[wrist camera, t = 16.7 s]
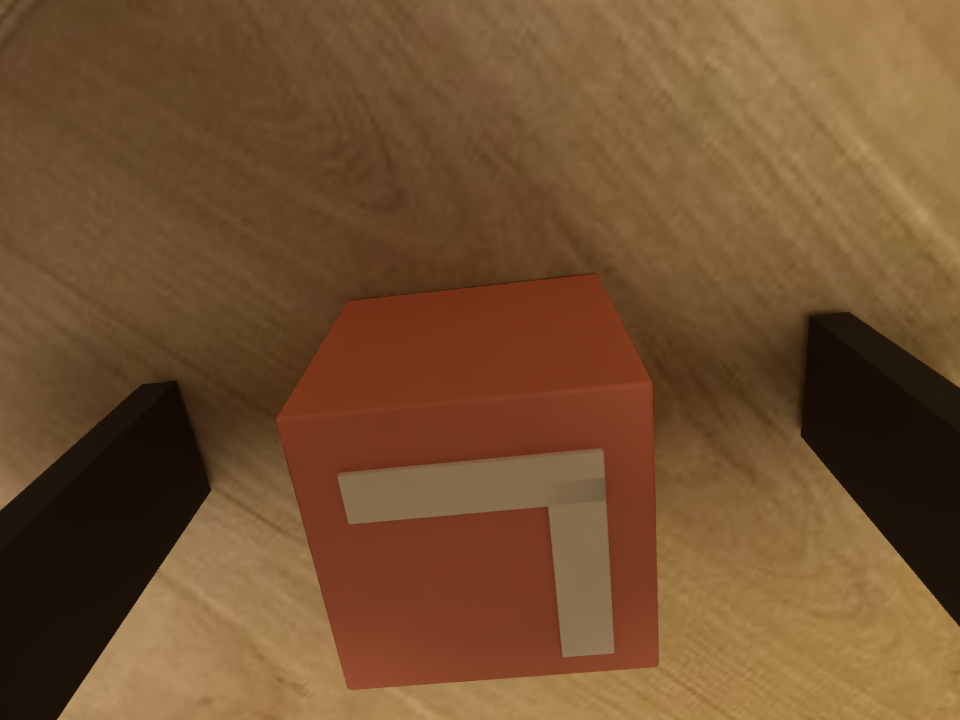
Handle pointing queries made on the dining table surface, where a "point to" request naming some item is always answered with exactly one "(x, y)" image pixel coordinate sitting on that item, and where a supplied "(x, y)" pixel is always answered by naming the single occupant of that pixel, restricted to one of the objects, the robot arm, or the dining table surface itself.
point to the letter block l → (479, 485)
